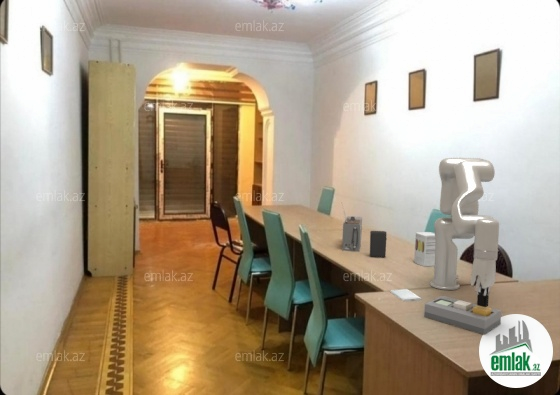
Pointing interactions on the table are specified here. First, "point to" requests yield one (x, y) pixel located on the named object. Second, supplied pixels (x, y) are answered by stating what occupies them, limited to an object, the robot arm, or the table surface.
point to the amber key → (482, 310)
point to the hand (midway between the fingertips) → (482, 305)
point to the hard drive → (405, 295)
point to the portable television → (352, 233)
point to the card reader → (378, 244)
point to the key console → (462, 316)
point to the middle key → (462, 305)
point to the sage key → (444, 302)
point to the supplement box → (425, 249)
